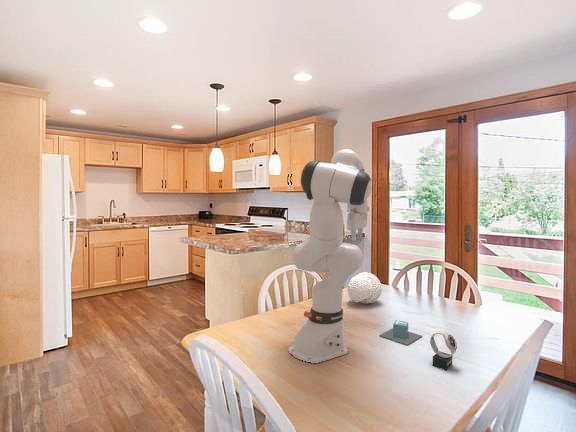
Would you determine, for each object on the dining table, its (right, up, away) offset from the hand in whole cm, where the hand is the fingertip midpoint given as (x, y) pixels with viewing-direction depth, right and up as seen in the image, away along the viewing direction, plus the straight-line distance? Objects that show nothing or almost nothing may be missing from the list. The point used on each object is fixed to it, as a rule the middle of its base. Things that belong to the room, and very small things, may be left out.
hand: (357, 238), depth 150 cm
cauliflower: (+9, -36, +24) cm, 44 cm away
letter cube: (+14, -38, -16) cm, 43 cm away
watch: (+20, -40, -39) cm, 59 cm away
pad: (+14, -38, -16) cm, 44 cm away
